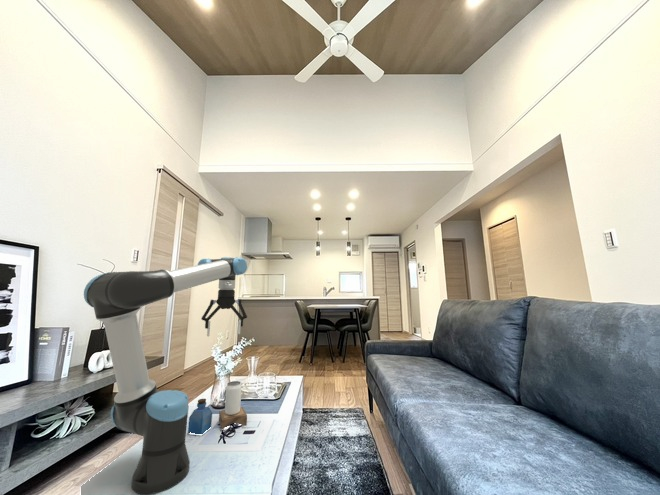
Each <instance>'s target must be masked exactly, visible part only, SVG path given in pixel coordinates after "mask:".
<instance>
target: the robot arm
mask: <svg viewBox="0 0 660 495" xmlns="http://www.w3.org/2000/svg"><path fill="white" fill-rule="evenodd" d="M247 269H248V263H247V260H246V259H245V258H243V257H237V256H236V257H230V256H229V257H227V256H224V257H220V258H215V259H214V258H213V259H212V258H201V259H200V260H199V261H198V263H197V264H196V265H192V266H186V267H182V268H178V269H172V270H169V271H168V270H167V269H158V270H148V271H147V270H146V271H145V270H143V271H141V270H139V271H133V270H132V271H131V270H130V271H110V272H105V273H101V274H98V275H96V276H94V277H92V279H90V280H89V281H88V283H87V284H86V285H85V287H84V290H83V298H84V301H85V303H86V304H87V305H88V306H90V307H91V308H93V310H94V314H95V320H98V321H100V322H101V323H103V326H104V331H105V335H106V340H107V344H108V348H109V353H110V358H111V362H112V366H113V372H114V377H115V381H116V386H117V390H118V391H117V393H116V394H115V396H114V397H113V406H112V407H111V410H110V420H111V423H112V424H113V426H115V427H116V428H117V429H118V430H120V431H122V432H123V431H124V432H128V433H131V434H134V435H138V436H140V437H143V439H142V440H143V441H142V448H141V449H142V450H141V455H140V457H139V460H138V463H137V465H136V467H135V469H134V472H133V475H132V479H131V490H132V491H133V492H134V493H136V494H139V495H140V494H141V495H149V494H150V495H151V494H156V493H160V492H163V491H165V490H169V489H170V488H172V487H174V486H176V485H178V484H179V483H180V482H182V481H183V480H184V479H185V478H186V477H187V476H188V474H189V471H190V462H191V461H190V458H189V454H188V450H187V446H186V436H187V429H188V426H187V425H188V418H189V417H188V416H189V397H188V395H187V393H186V392H184V391H180V390H178V389H177V390H176V389H174V390H170V389H167V390H160V391H158V387H157V383H156V381H155V380H153V379H150V377H149V376H150V375H149V371H148V366H147V365H148V364H147V360H146V356H145V351H144V345H143V340H142V335H141V329H140V326H139V321H138V316H137V314H138V312H139V311H140V310H141V307H144V306H146V305H150V304H153V303H155V302H159V301H161V300H164V299H168V298H171V297H172V296H173V295H174V294H175V293H178V292H181V291H184V290H188V289H190V288H191V289H192V288H194V287H198V286H201V285H204V284H207V283H212V282H214V281H218V287H217V288H218V291H217V299H210V302H209V305H208V307H207V309H206V310H205V312H204V313H203V315H202V316H201V320H202V321H204V322H205V323H204V328H205V329H206V330H207V332H206V333H207V334H206V336H207V337H210V332H211V331H210V330H211V319H212V318H213V317H214V316H215V315H216V313H217V312H218V311H219V310H225V309H227V310H230V309H231V310H232V312H234V314H236V316H237V318H239V319H238V322H237V335H241V329H242V328H243V325H244V320H246V319H247V318H248V315H247V313H246V311H245V309H244V306H243V304H242V299H240V298H239V299H235V294H236V291H235V289H236V276H240V275H244V274H245V273H246V272H247ZM235 303H236V305H237V306H238V308H239V309H240V312H239V311H238V309H237V308H236V307H235V306H234V304H235ZM215 304H217V306H216V307H215V309H214V310H213V311H212V312H211V313H210V314H209V312H210V311H211V310H212V307H213V305H215ZM208 314H209V315H208ZM241 327H242V328H241Z"/></svg>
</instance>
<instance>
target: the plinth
mask: <svg viewBox="0 0 660 495" xmlns="http://www.w3.org/2000/svg"><path fill="white" fill-rule="evenodd" d="M247 419H248V414H247V412H246V410H245V409H244V407H243V406H240V411H239V413H237V414H235V415H226V414H225V409H223V410H220V411H219V415H218V422H220V423H219V426H221V427H220V429H223V428H224V427H227V426H229V425H230V424H232V423H239V424H242V425H245V426H247V424H248V422H247V421H248V420H247Z"/></svg>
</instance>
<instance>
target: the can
mask: <svg viewBox="0 0 660 495" xmlns="http://www.w3.org/2000/svg"><path fill="white" fill-rule="evenodd" d="M241 400H242V383H241V381H239V380H232V381H229V382H227V386H226V387H225V400H224V410H225V414H226V415H235V414H237V413H239V411H240V407H241V405H242V404H241V402H242V401H241Z"/></svg>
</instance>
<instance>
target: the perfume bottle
mask: <svg viewBox="0 0 660 495" xmlns="http://www.w3.org/2000/svg"><path fill="white" fill-rule="evenodd" d="M206 401H207V399H206V398H199V399H198V400H197V403H196V404H197V405H196V407H197V408H195V409H194V410H193V411H192V413H191V414H190V415H189V417H188V426H187V434H188V433H190V432H191V433H195V434H203V433H204V432H205V431H206V430H208V429H209V428H210V427H211V428H212V421H213V411H212V410H211V408H210V406H207V402H206Z"/></svg>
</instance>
